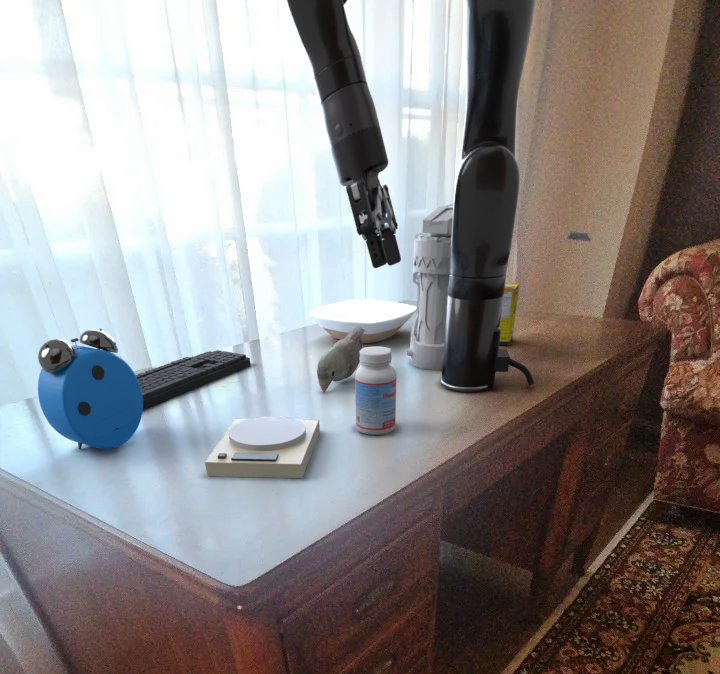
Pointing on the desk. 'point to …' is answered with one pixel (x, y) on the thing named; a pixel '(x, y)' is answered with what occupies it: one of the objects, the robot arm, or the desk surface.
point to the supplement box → (508, 312)
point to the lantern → (431, 288)
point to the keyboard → (188, 375)
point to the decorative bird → (340, 359)
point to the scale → (264, 448)
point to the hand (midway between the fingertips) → (388, 265)
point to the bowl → (363, 318)
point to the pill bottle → (375, 391)
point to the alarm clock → (89, 391)
